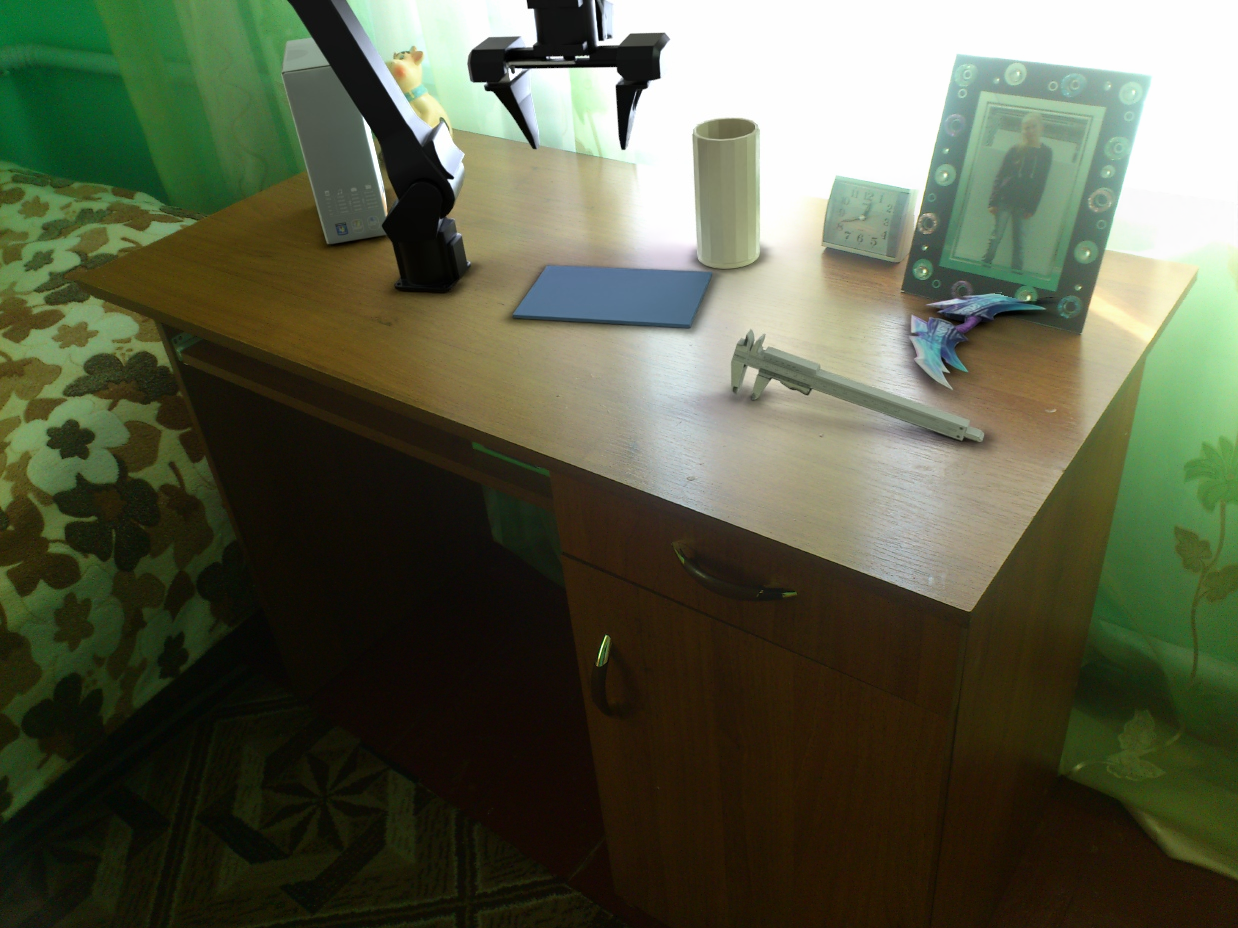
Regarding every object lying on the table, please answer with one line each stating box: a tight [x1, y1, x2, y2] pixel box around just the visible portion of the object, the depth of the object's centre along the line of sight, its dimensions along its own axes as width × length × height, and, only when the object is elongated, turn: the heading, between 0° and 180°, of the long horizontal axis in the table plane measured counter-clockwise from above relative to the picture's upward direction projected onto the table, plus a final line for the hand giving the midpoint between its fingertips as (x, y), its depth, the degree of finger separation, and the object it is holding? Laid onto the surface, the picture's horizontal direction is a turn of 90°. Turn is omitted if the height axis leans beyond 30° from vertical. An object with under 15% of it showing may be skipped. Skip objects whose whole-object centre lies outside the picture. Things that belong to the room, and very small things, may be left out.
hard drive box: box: [280, 37, 388, 245], centre depth 116 cm, size 16×8×20 cm, turn 14°
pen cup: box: [691, 116, 761, 270], centre depth 100 cm, size 7×7×14 cm
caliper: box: [730, 328, 985, 443], centre depth 77 cm, size 20×1×6 cm, turn 63°
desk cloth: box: [512, 264, 713, 329], centre depth 99 cm, size 18×11×1 cm, turn 75°
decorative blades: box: [908, 292, 1047, 391], centre depth 88 cm, size 20×1×10 cm
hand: (579, 148), depth 97 cm, fingers open, 9 cm apart
